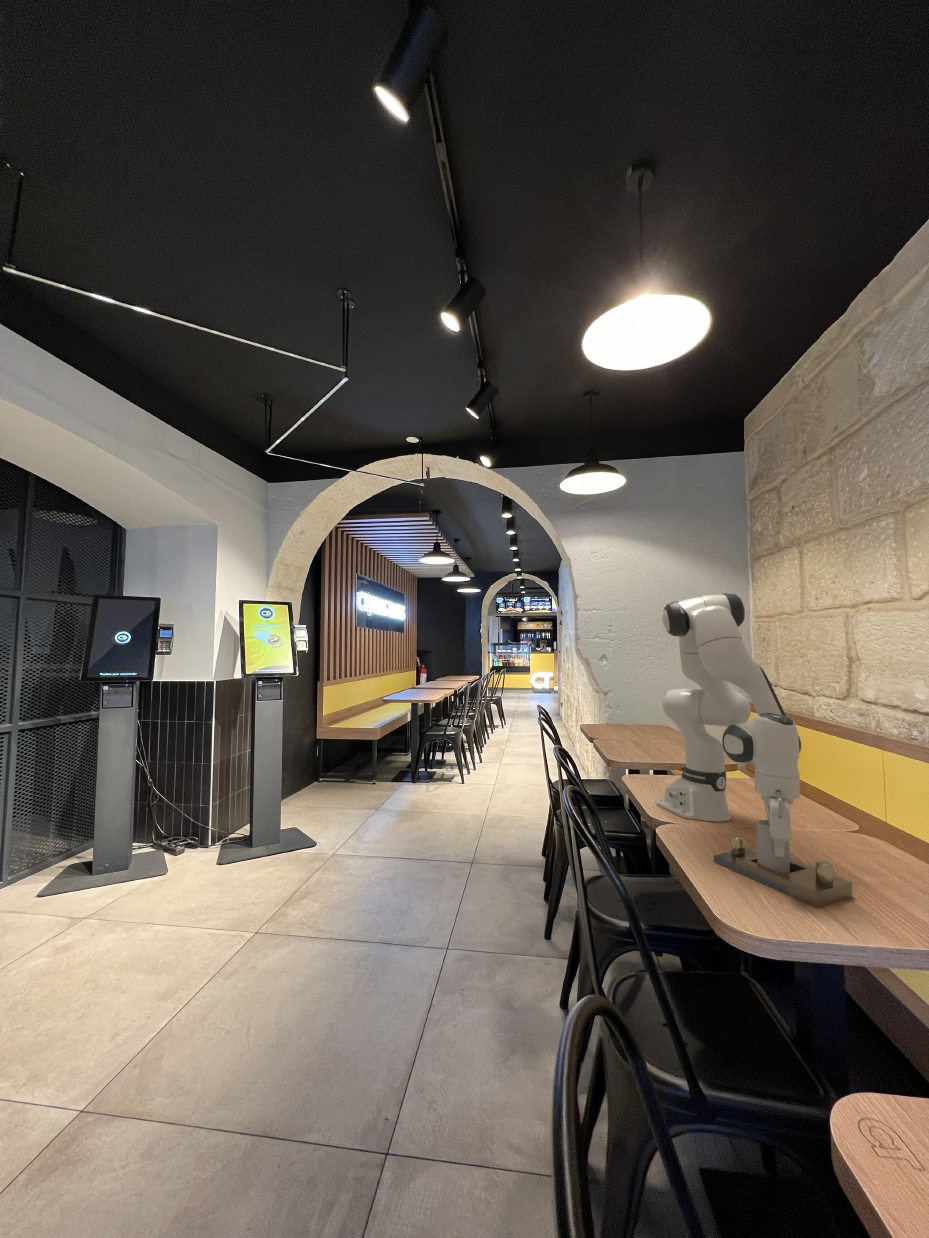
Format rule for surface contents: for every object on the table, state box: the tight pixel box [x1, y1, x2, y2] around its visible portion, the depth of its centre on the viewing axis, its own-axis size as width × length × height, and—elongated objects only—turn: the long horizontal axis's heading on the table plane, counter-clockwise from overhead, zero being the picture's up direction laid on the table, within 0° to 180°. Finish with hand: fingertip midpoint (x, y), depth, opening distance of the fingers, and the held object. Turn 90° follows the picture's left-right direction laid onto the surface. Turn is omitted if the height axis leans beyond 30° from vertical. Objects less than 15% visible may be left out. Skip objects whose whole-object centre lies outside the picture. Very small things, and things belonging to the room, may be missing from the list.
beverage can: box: [756, 819, 791, 874], centre depth 117 cm, size 6×6×12 cm
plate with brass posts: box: [713, 835, 853, 909], centre depth 116 cm, size 24×12×7 cm, turn 25°
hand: (777, 848), depth 117 cm, fingers open, 8 cm apart
